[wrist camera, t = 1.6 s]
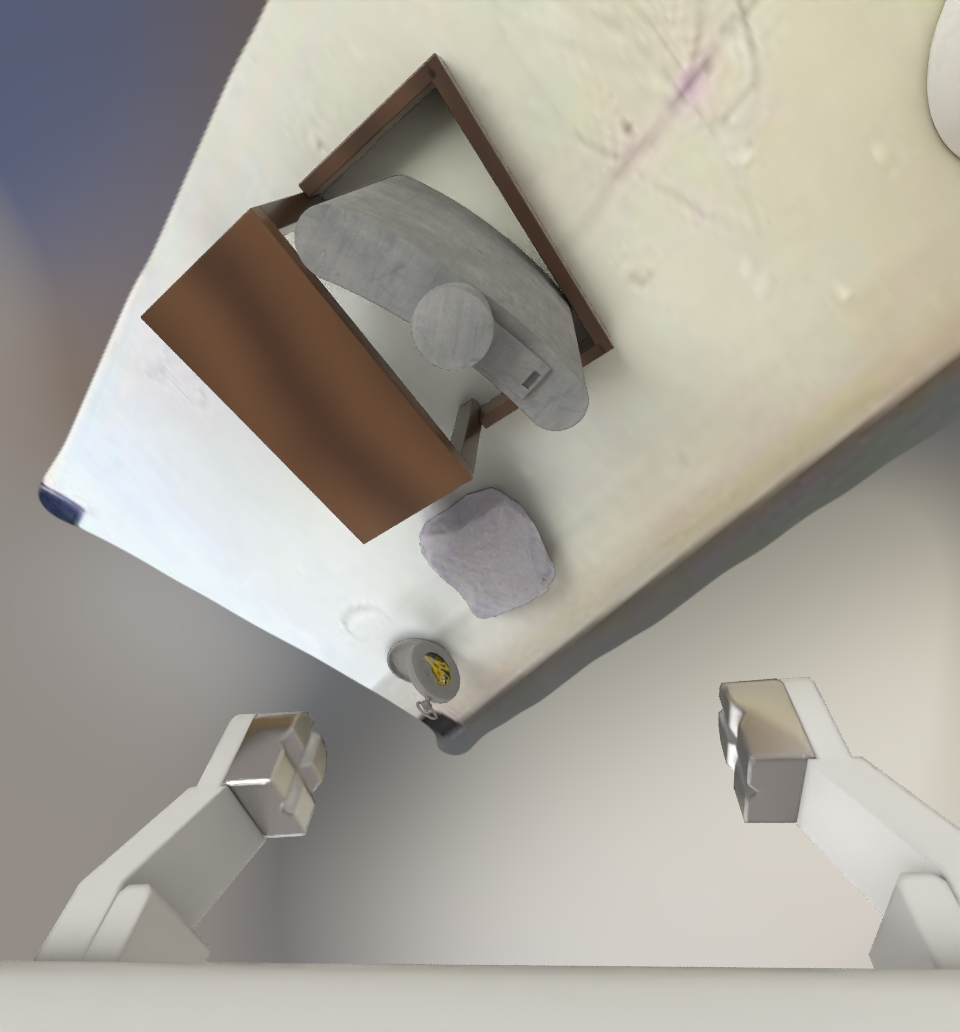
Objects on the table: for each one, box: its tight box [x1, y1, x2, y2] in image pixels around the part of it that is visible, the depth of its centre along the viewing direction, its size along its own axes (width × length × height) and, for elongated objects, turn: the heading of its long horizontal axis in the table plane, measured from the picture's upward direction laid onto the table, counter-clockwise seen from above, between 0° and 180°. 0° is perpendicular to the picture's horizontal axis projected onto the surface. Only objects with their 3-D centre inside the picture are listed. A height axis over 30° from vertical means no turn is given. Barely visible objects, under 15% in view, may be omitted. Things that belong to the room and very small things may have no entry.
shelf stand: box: [141, 53, 614, 544], centre depth 40 cm, size 22×21×11 cm
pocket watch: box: [387, 638, 460, 720], centre depth 61 cm, size 8×8×10 cm
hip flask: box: [295, 175, 589, 431], centre depth 34 cm, size 16×4×20 cm, turn 56°
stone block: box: [419, 488, 555, 619], centre depth 55 cm, size 12×5×10 cm
